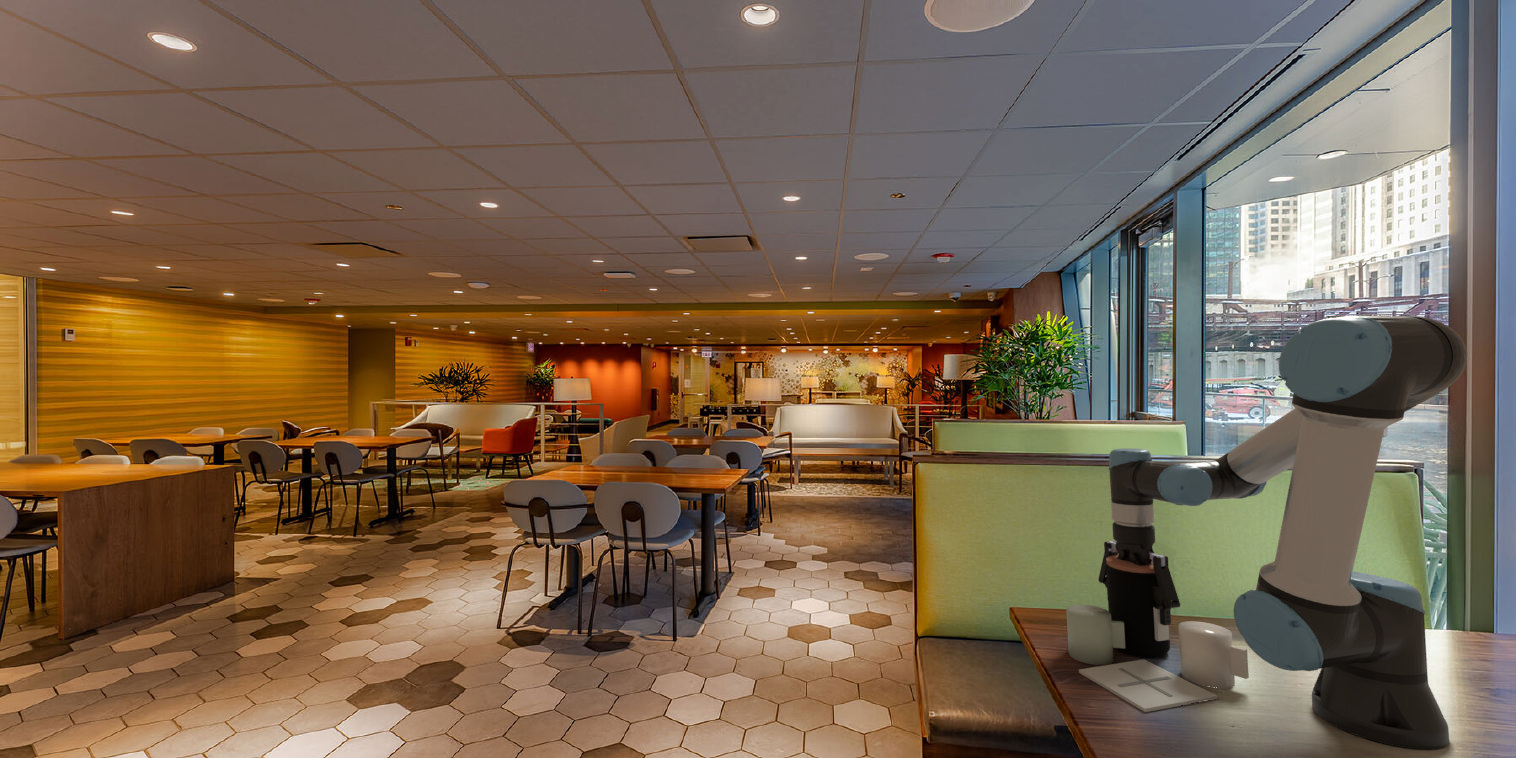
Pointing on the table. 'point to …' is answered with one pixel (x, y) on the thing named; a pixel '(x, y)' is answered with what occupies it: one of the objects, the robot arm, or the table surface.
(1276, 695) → the table surface
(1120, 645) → the mug sage
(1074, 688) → the table surface
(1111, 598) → the coffee jar
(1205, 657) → the mug cream
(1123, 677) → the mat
